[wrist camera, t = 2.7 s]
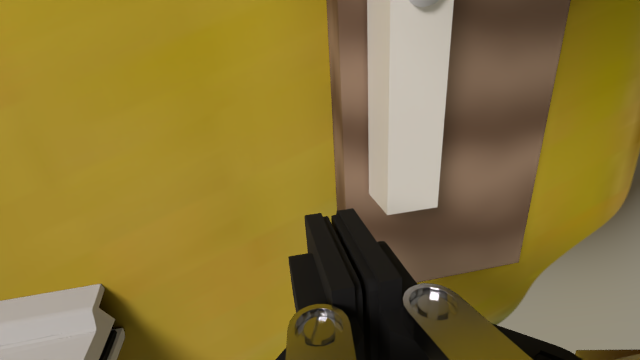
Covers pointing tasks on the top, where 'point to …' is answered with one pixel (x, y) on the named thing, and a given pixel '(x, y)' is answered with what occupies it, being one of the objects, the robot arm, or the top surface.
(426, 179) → the folding leg
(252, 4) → the top surface
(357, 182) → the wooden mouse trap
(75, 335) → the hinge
